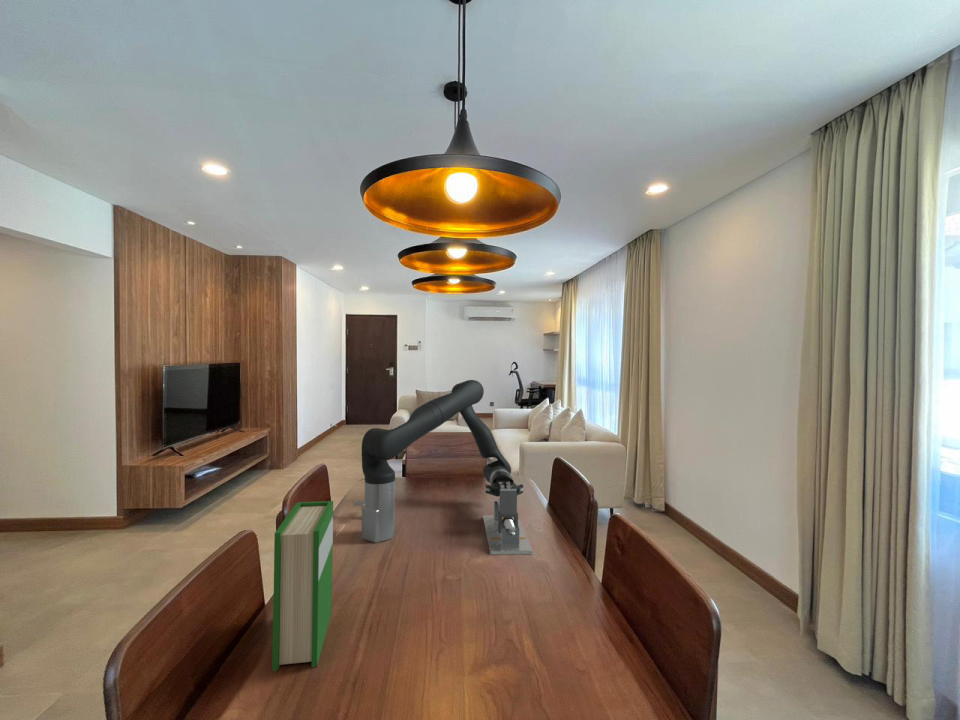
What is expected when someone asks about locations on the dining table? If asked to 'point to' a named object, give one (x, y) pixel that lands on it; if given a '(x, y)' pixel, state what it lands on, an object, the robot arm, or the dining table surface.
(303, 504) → the hardback book
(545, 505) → the dining table surface
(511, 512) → the grey tall slab
